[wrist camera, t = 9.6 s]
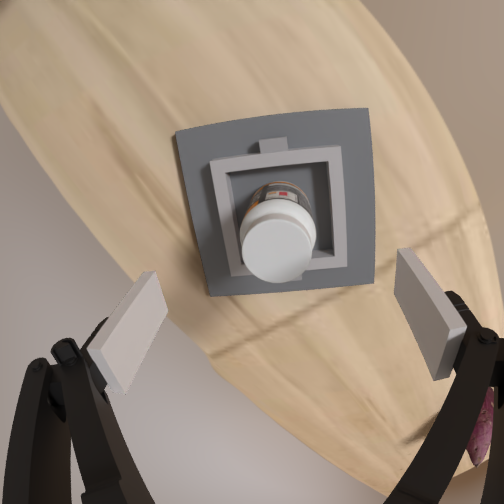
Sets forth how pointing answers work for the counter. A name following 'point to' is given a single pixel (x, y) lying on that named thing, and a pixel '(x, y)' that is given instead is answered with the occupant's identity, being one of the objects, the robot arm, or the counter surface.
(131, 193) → the counter surface
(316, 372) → the counter surface
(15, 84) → the counter surface
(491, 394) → the vegetable
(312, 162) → the socket
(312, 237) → the pill bottle
